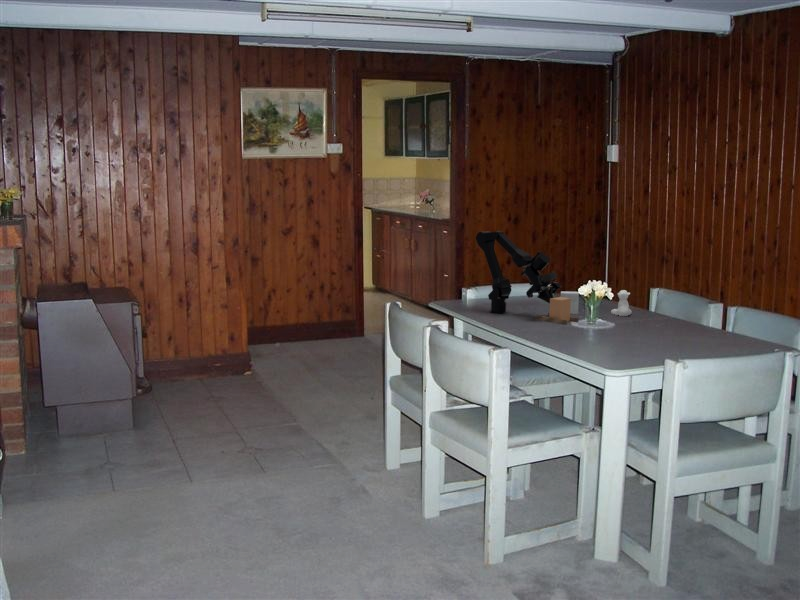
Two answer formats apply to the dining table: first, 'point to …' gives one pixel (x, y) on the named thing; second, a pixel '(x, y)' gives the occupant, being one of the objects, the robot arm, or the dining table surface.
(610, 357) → the dining table surface
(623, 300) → the white creature statuette
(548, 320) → the chute
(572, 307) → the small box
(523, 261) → the robot arm
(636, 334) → the dining table surface
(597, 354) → the dining table surface
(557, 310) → the block
